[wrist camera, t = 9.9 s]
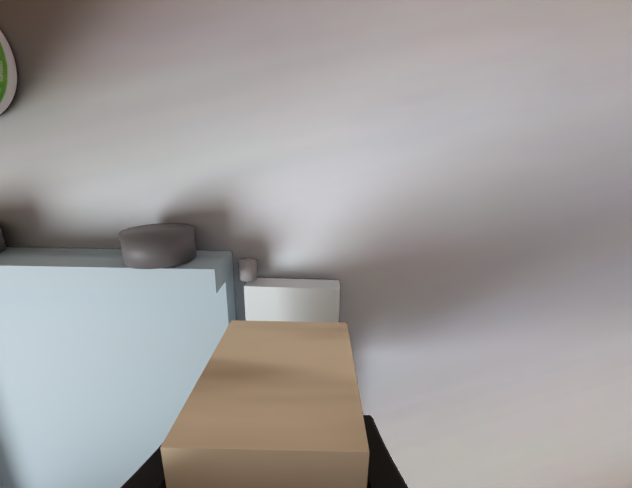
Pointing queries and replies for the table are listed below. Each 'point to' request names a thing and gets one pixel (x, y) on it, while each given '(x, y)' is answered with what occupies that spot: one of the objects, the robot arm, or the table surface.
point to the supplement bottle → (6, 74)
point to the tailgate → (292, 300)
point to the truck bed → (104, 351)
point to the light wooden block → (272, 412)
